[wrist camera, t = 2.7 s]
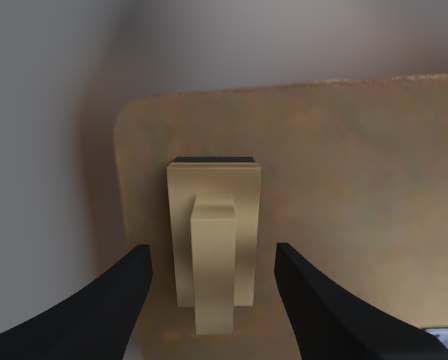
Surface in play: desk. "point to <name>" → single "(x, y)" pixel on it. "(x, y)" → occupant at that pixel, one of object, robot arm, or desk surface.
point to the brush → (214, 236)
